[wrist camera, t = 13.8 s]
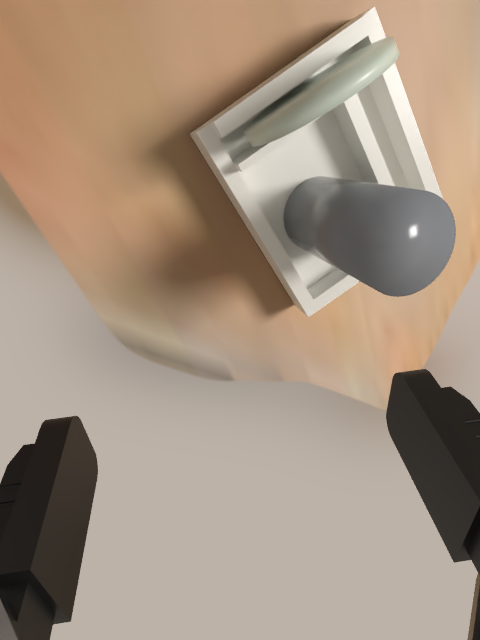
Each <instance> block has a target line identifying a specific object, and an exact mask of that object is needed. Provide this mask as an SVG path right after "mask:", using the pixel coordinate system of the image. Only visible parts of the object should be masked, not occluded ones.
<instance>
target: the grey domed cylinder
mask: <svg viewBox="0 0 480 640" xmlns="http://www.w3.org/2000/svg"><path fill="white" fill-rule="evenodd" d="M283 218H284V227H285V230H286V233H287V235H288V237H289V238H290V240H291V241H292V242H293V243H294V244H295V245H297V246H298V247H300V248H301V249H303V250H305V251H307V252H309V253H310V254H312V255H314V256H316V257H318V258H319V259H321V260H323V261H325V262H327V263H329V264H330V265H332V266H334V267H336V268H338V269H339V270H341V271H343V272H345V273H347V274H348V275H350V276H352V277H354V278H356V279H357V280H359V281H361V282H363V283H365V284H366V285H368V286H370V287H372V288H374V289H375V290H377V291H379V292H381V293H383V294H385V295H389V296H397V297H398V296H407V295H411V294H414V293H416V292H418V291H420V290H422V289H424V288H425V287H427V286H428V285H429V284H431V283H432V282H433V281H434V280H435V279H436V278H437V277H438V276H439V274H440V273H441V272H442V271H443V269H444V268H445V266H446V264H447V263H448V261H449V258H450V256H451V254H452V251H453V248H454V243H455V236H456V227H455V220H454V217H453V214H452V211H451V209H450V207H449V206H448V204H447V203H446V202H445V201H444V200H443V199H442V198H441V197H440V196H438V195H436V194H435V193H432V192H429V191H425V190H418V189H411V188H404V187H397V186H389V185H382V184H375V183H368V182H361V181H354V180H346V179H339V178H332V177H325V176H318V177H313V178H310V179H307V180H305V181H304V182H302V183H301V184H299V185H298V186H297V187H296V188H295V189H294V190H293V192H292V193H291V194H290V196H289V198H288V200H287V202H286V205H285V209H284V217H283Z"/></svg>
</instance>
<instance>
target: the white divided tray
mask: <svg viewBox="0 0 480 640" xmlns="http://www.w3.org/2000/svg"><path fill="white" fill-rule="evenodd" d="M398 57H399V52H398V49H397V46H396V43H395V40H394V37H387V38H386V37H385V34H384V31H383V28H382V25H381V22H380V20H379V17H378V14H377V11H376V8H375V7H373V8H371V9H369V10H367V11H366V12H364V13H362V14H360V15H358V16H357V17H355V18H353V19H351V20H350V21H349V22H347V23H346V24H344V25H343V26H341V27H340V28H339V29H337V30H336V31H334V32H333V33H332V34H330V35H329V36H327V37H326V38H324V39H323V40H322V41H320V42H319V43H317V44H316V45H315V46H313V47H312V48H310V49H309V50H307V51H306V52H305V53H303V54H302V55H300V56H299V57H298V58H296V59H295V60H293V61H292V62H291V63H289V64H288V65H286V66H285V67H283V68H282V69H281V70H279V71H278V72H276V73H275V74H274V75H272V76H271V77H269V78H268V79H266V80H265V81H264V82H262V83H261V84H259V85H258V86H257V87H255V88H254V89H252V90H251V91H249V92H248V93H247V94H245V95H244V96H242V97H241V98H240V99H238V100H237V101H235V102H234V103H232V104H231V105H230V106H228V107H227V108H225V109H224V110H223V111H221V112H220V113H218V114H217V115H215V116H214V117H213V118H211V119H210V120H208V121H207V122H206V123H204V124H203V125H201V126H200V127H198V128H197V129H196V130H194V131H193V132H191V133H190V136H191V137H192V139H193V141H194V142H195V144H196V145H197V147H198V149H199V150H200V152H201V154H202V155H203V157H204V158H205V160H206V162H207V163H208V165H209V167H210V168H211V170H212V171H213V173H214V175H215V176H216V178H217V180H218V181H219V183H220V184H221V186H222V188H223V189H224V191H225V193H226V194H227V196H228V197H229V199H230V201H231V202H232V204H233V206H234V207H235V209H236V210H237V212H238V214H239V215H240V217H241V219H242V220H243V222H244V223H245V225H246V227H247V228H248V230H249V232H250V233H251V235H252V236H253V238H254V240H255V241H256V243H257V245H258V246H259V248H260V249H261V251H262V253H263V254H264V256H265V258H266V259H267V261H268V262H269V264H270V266H271V267H272V269H273V271H274V272H275V274H276V275H277V277H278V279H279V280H280V282H281V284H282V285H283V287H284V288H285V290H286V292H287V293H288V295H289V297H290V298H291V300H292V301H293V303H294V305H295V306H296V307H297V308H299V309H300V310H301V311H302V312H303V313H304V314H305V315H306V316H307V317H310V316H311V315H313V314H314V313H315V312H317V311H318V310H320V309H321V308H323V307H324V306H325V305H327V304H328V303H330V302H331V301H332V300H334V299H335V298H337V297H338V296H340V295H341V294H342V293H344V292H345V291H347V290H348V289H349V288H351V287H352V286H354V285H355V284H357V283H358V282H359V280H357V279H356V278H354V277H352V276H350V275H348V274H347V273H345V272H343V271H341V270H339V269H338V268H336V267H334V266H332V265H330V264H329V263H327V262H325V261H323V260H321V259H319V258H318V257H316V256H314V255H312V254H310V253H309V252H307V251H305V250H303V249H301V248H300V247H298V246H297V245H295V244H294V243H293V242H292V241H291V240H290V238H289V237H288V235H287V233H286V230H285V227H284V218H283V217H284V209H285V205H286V202H287V200H288V198H289V196H290V194H291V193H292V192H293V190H294V189H295V188H296V187H297V186H298V185H299V184H301V183H302V182H304V181H305V180H307V179H310V178H313V177H318V176H325V177H332V178H339V179H346V180H354V181H361V182H368V183H375V184H382V185H389V186H397V187H404V188H411V189H418V190H425V191H429V192H432V193H435V194H436V195H438V196H440V197H441V198H442V199H443V197H442V194H441V192H440V189H439V186H438V183H437V180H436V177H435V175H434V172H433V169H432V166H431V163H430V161H429V158H428V155H427V152H426V149H425V146H424V144H423V141H422V138H421V135H420V132H419V130H418V127H417V124H416V121H415V118H414V115H413V113H412V110H411V107H410V104H409V101H408V99H407V96H406V93H405V90H404V87H403V84H402V82H401V79H400V76H399V73H398V70H397V68H396V65H395V61H396V60H397V59H398Z"/></svg>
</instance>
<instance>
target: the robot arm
mask: <svg viewBox="0 0 480 640" xmlns="http://www.w3.org/2000/svg"><path fill="white" fill-rule="evenodd" d="M386 414H387V415H386V419H387V426H388V430H389V433H390V436H391V438H392V440H393V442H394V444H395V446H396V448H397V450H398V452H399V454H400V456H401V458H402V460H403V462H404V463H405V466H406V468H407V470H408V472H409V474H410V476H411V478H412V480H413V481H414V484H415V486H416V488H417V490H418V492H419V493H420V496H421V498H422V499H423V502H424V503H425V505H426V508H427V510H428V512H429V514H430V515H431V518H432V520H433V522H434V523H435V525H436V527H437V529H438V531H439V533H440V535H441V537H442V539H443V541H444V543H445V545H446V547H447V549H448V551H449V553H450V555H451V557H452V559H453V561H454V562H459V561H466V560H472V562H473V564H474V566H475V567H476V569H477V571H478V575H477V578H476V584H475V592H474V598H473V606H472V612H471V619H470V627H469V633H468V640H480V413H479V412H478V411H477V409H476V408H475V407H474V405H473V404H472V403H471V401H470V400H468V399H467V398H466V397H464V396H462V395H461V394H460V393H458V392H457V391H456V390H454V389H453V388H452V387H445V388H441V387H440V386H439V384H438V383H437V381H436V380H435V379H434V377H433V376H432V375H431V373H430V372H429V371H428V370H426V369H422V370H414V371H407V372H400V373H395V374H394V376H393V379H392V385H391V391H390V396H389V402H388V407H387V413H386ZM97 474H98V466H97V458H96V454H95V451H94V449H93V447H92V444H91V442H90V440H89V438H88V436H87V433H86V431H85V429H84V427H83V424H82V422H81V420H80V418H79V417H78V416H72V417H65V418H58V419H50V420H45V421H44V422H43V423H42V425H41V428H40V430H39V433H38V436H37V439H36V442H35V444H29V445H23V447H22V448H21V449H20V450H19V452H18V453H17V454H16V455H15V457H14V458H13V459H12V460H11V461H10V463H9V464H8V466H7V468H6V471H5V473H4V476H3V478H2V481H1V483H0V640H50V635H51V630H52V626H53V624H58V623H64V622H70V621H71V617H72V612H73V606H74V601H75V595H76V590H77V585H78V579H79V574H80V568H81V563H82V557H83V552H84V546H85V541H86V535H87V530H88V525H89V520H90V514H91V508H92V503H93V498H94V492H95V487H96V482H97Z"/></svg>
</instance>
